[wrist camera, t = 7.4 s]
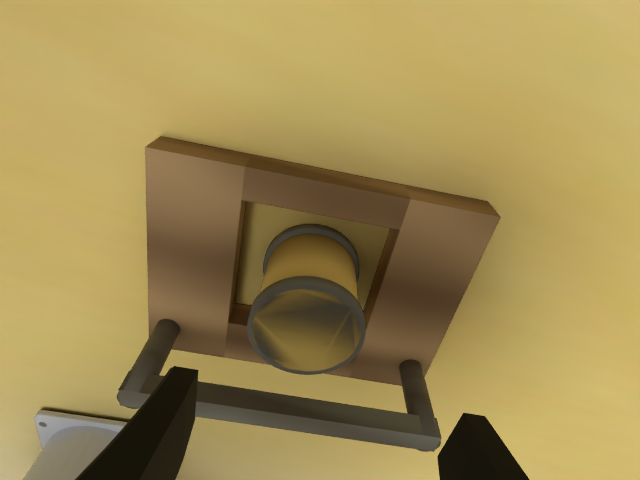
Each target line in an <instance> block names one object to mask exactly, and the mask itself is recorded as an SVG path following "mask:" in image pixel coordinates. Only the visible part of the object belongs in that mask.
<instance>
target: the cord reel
mask: <svg viewBox="0 0 640 480" xmlns="http://www.w3.org/2000/svg"><path fill="white" fill-rule="evenodd" d="M263 273H264V279H263V283H262V287H261V291H260V294H259V295H258V296H257V298H256V299H255V301H254V303H253V305H252V307H251V310H250V314H249V318H248V322H247V334H248V338H249V341H250V343H251V345H252V347H253V349H254V350H255V351H256V353H257V354H258V355H259V356H260V357H261V358H262V359H264V360H265V361H266V362H267V363H269V364H271V365H272V366H274V367H276V368H279V369H281V370H284V371H287V372H291V373H296V374H305V375H312V374H322V373H326V372H330V371H333V370H336V369H338V368H340V367H342V366H344V365H346V364H347V363H348V362H350V361H351V360H352V359H353V358H354V357H355V356H356V355H357V354H358V353H359V351H360V350H361V348H362V346H363V343H364V340H365V334H366V330H365V319H364V313H363V310H362V307H361V305H360V304H359V302H358V296H357V285H356V283H357V280H358V276H359V263H358V257H357V253H356V250H355V248H354V247H353V245H352V243H351V242H350V241H349V240H348V239H347V238H346V237H345V236H344V235H343V234H342V233H340V232H338V231H337V230H335V229H333V228H330V227H328V226H324V225H319V224H302V225H297V226H293V227H291V228H288V229H286V230H284V231H283V232H281V233H280V234H279V235H277V236H276V237H275V238H274V239H273V241H272V242H271V244H270V245H269V247H268V249H267V252H266V255H265V259H264V264H263Z"/></svg>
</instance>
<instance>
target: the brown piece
mask: <svg viewBox="0 0 640 480" xmlns="http://www.w3.org/2000/svg"><path fill="white" fill-rule="evenodd" d="M145 159H146V210H147V261H148V312H149V339H148V340H147V342H146V344H145V346H144V348H143V349H142V351H141V353H140V355H139V357H138V358H137V360H136V362H135V364H134V365H133V367H132V369H131V371H129V372H128V374H127V376H126V377H125V379H124V381H123V383H122V385H121V386H120V388H119V392H118V394H117V400H118V401H119V402H120V405H122V406H125V407H128V408H132V409H138V408H140V407H141V406H142V405H143V404H144V403H145V401H146V400H147V399H148V398H149V396H150V395H151V394H152V393H153V391H154V390H155V389H156V387H157V386H158V385H159V383H160V382H161V381H162V379H163V378H164V377H165V376H160V375H159V374H160V372H161V370H162V368H163V366H164V363H165V361H166V359H167V357H168V355H169V353H170V351H171V349H174V350H181V351H187V352H193V353H199V354H206V355H212V356H218V357H224V358H231V359H237V360H243V361H250V362H256V363H262V364H268V365H271V364H269V363H267V362H266V361H265V360H264V359H262V358H261V357H260V356H259V355H258V354H257V353H256V351H255V350H254V349H253V347H252V345H251V343H250V341H249V338H248V334H247V322H248V318H249V314H250V310H251V307H252V306H248V305H242V304H237V303H234V302H235V293H236V285H237V276H238V268H239V259H240V250H241V242H242V233H243V225H244V216H245V208H246V201H250V202H255V203H260V204H266V205H271V206H276V207H281V208H287V209H292V210H297V211H302V212H308V213H313V214H318V215H323V216H329V217H334V218H339V219H344V220H350V221H355V222H360V223H365V224H371V225H376V226H381V227H386V228H390V231H389V234H388V237H387V240H386V243H385V246H384V250H383V253H382V256H381V259H380V262H379V265H378V268H377V271H376V274H375V277H374V280H373V283H372V286H371V289H370V292H369V295H368V299H367V302H366V305H365V308H364V311H363V313H364V319H365V330H366V334H365V340H364V343H363V346H362V348H361V350H360V351H359V353H358V354H357V355H356V356H355V357H354V358H353V359H352V360H351V361H350V362H348V363H347V364H346V365H344V366H342V367H340V368H338V369H336V370H333V371H330V372H326V373H325V374H331V375H337V376H343V377H350V378H356V379H362V380H368V381H375V382H381V383H387V384H393V385H400V386H402V387H403V392H404V397H405V403H406V408H407V413H408V414H406V413H399V412H393V411H386V410H380V409H373V408H367V407H360V406H354V405H348V404H341V403H335V402H328V401H322V400H315V399H309V398H302V397H296V396H289V395H283V394H276V393H270V392H263V391H257V390H250V389H244V388H237V387H231V386H224V385H218V384H212V383H205V382H199V381H197V395H196V410H195V416H197V417H203V418H210V419H217V420H224V421H230V422H237V423H244V424H251V425H257V426H264V427H271V428H278V429H285V430H291V431H298V432H305V433H312V434H318V435H325V436H332V437H339V438H345V439H352V440H359V441H366V442H373V443H379V444H386V445H393V446H400V447H406V448H413V449H417V450H419V451H425V452H427V451H435V449H437V448H438V447H439V446H440V444H441V441H440V440H441V434H440V430H439V426H438V422H437V419H436V418H434V414H433V410H432V406H431V402H430V398H429V394H428V390H427V386H426V382H425V378H424V377H425V375H426V373H427V371H428V369H429V367H430V365H431V362H432V360H433V358H434V356H435V354H436V352H437V350H438V348H439V346H440V344H441V341H442V339H443V337H444V335H445V333H446V331H447V329H448V327H449V325H450V323H451V320H452V318H453V316H454V314H455V312H456V310H457V308H458V306H459V304H460V302H461V299H462V297H463V295H464V293H465V291H466V289H467V287H468V285H469V283H470V281H471V278H472V276H473V274H474V272H475V270H476V268H477V266H478V264H479V262H480V260H481V257H482V255H483V253H484V251H485V249H486V247H487V245H488V243H489V241H490V239H491V236H492V234H493V232H494V230H495V228H496V226H497V224H498V222H499V220H500V218H501V217H500V216H499V214H498V213H497V212H496V211H495V210H494V208H493V207H492V206H491V205H490V204H489V202H487V201H482V200H477V199H472V198H467V197H462V196H457V195H452V194H447V193H442V192H437V191H432V190H427V189H422V188H417V187H412V186H407V185H402V184H397V183H392V182H387V181H382V180H377V179H372V178H367V177H362V176H357V175H352V174H347V173H342V172H337V171H332V170H327V169H322V168H316V167H311V166H306V165H301V164H296V163H291V162H286V161H281V160H276V159H271V158H266V157H261V156H256V155H251V154H246V153H241V152H236V151H231V150H226V149H221V148H216V147H211V146H206V145H201V144H196V143H191V142H186V141H181V140H176V139H171V138H166V137H161V136H160V137H159V138H157V139H156V140H154V141H153V142H152V143H150V144H149V145H147V146H146V147H145Z"/></svg>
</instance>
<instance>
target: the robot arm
mask: <svg viewBox="0 0 640 480" xmlns="http://www.w3.org/2000/svg"><path fill="white" fill-rule="evenodd" d="M197 381H198V370H195V369H188V368H182V367H176V366H174V367H172V368H170V370H169V371H168V372H167V374H166V375H165V377H164V378H163V379H162V381H161V382H160V383H159V385H158V386H157V387H156V389H155V390H154V391H153V393H152V394H151V395H150V396H149V398H148V399H147V400H146V401H145V403H144V404H143V405H142V406H141V407H140V409H139V410H138V411H137V412H136V414H135V415H134V416H133V417H132V418H131V419H130V420H129V422H123V421H116V420H109V419H102V418H95V417H88V416H81V415H74V414H67V413H60V412H53V411H47V410H41V411H38V412H37V414H36V415H35V422H36V426H37V430H38V434H39V438H40V443H41V447H42V451H41V453H40V454H39V456H38V457H37V459H36V460H35V462H34V463H33V465H32V466H31V468H30V469H29V471H28V472H27V474H26V475H25V477H24V478H23V480H175V479H176V477H177V474H178V472H179V469H180V466H181V464H182V461H183V458H184V455H185V452H186V448H187V445H188V442H189V438H190V435H191V431H192V428H193V424H194V421H195V410H196V395H197ZM438 466H439V475H440V480H529V478H528V477H527V476H526V474H525V473H524V471H523V470H522V468H521V467H520V466H519V464H518V463H517V461H516V460H515V458H514V457H513V456H512V454H511V453H510V451H509V450H508V448H507V447H506V446H505V444H504V443H503V441H502V440H501V438H500V437H499V435H498V434H497V433H496V431H495V430H494V428H493V427H492V425H491V424H490V423H489V421H488V420H487V418H486V417H485V416H480V415H474V414H468V413H463V414H462V416H461V418H460V420H459V421H458V423H457V425H456V426H455V428H454V430H453V431H452V433H451V435H450V436H449V438H448V440H447V441H446V443H445V445H444V446H443V448H442V450H441V451H440V453H439V455H438Z"/></svg>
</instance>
